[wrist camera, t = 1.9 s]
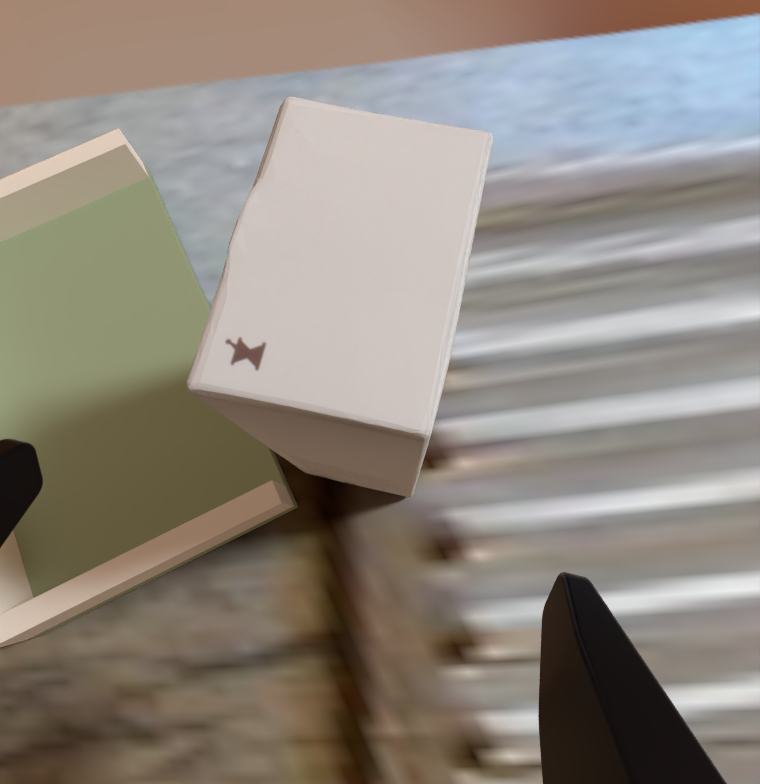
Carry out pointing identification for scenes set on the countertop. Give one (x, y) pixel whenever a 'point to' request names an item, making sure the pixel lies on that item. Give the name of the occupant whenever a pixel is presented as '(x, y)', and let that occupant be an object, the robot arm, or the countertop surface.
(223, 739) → the countertop surface
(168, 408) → the pad
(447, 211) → the skincare box
